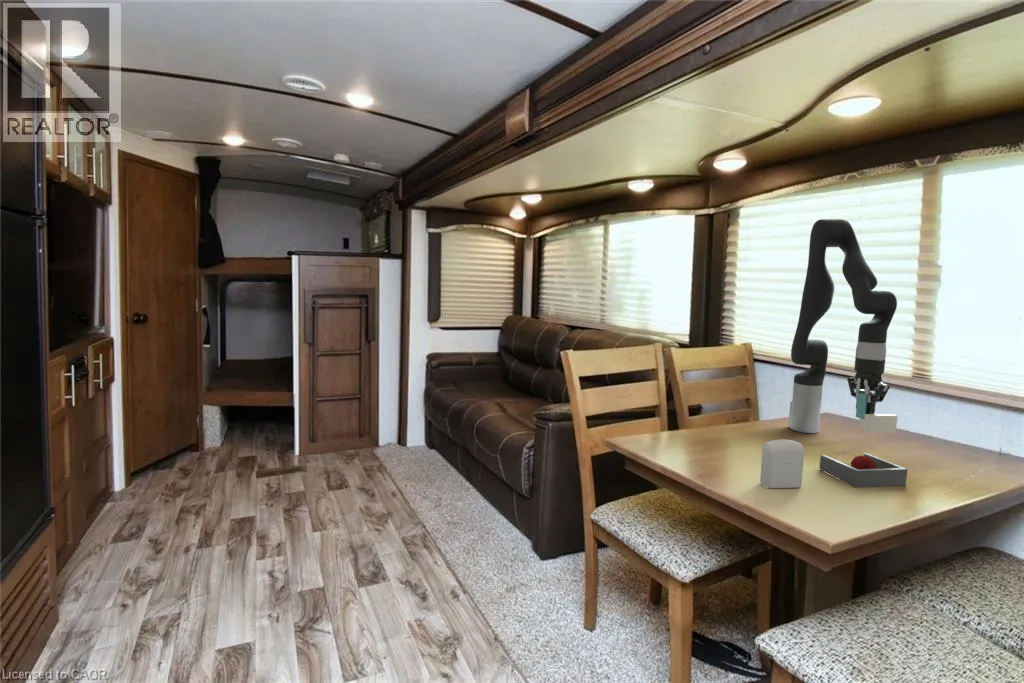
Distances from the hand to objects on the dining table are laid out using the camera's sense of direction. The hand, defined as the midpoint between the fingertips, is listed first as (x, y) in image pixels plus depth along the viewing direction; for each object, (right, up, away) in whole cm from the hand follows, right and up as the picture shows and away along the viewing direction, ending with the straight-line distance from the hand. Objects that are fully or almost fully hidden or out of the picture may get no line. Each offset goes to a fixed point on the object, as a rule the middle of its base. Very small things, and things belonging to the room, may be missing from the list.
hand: (864, 412), depth 160 cm
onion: (-11, -12, -12) cm, 20 cm away
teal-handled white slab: (0, -4, -2) cm, 5 cm away
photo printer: (-38, -16, -24) cm, 47 cm away
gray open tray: (-12, -16, -15) cm, 25 cm away
